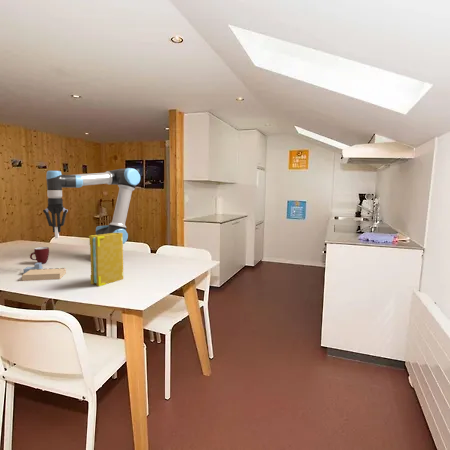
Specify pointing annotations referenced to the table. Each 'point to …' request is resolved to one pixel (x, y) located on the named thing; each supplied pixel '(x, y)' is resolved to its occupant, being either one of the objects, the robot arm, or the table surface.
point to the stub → (36, 266)
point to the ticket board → (44, 274)
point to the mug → (41, 254)
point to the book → (106, 258)
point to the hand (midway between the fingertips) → (57, 237)
